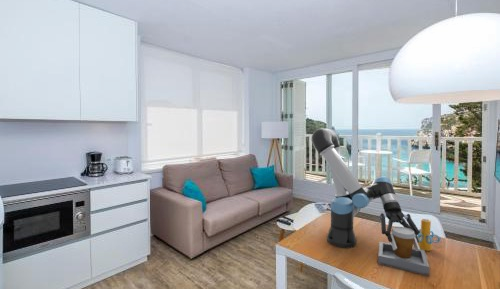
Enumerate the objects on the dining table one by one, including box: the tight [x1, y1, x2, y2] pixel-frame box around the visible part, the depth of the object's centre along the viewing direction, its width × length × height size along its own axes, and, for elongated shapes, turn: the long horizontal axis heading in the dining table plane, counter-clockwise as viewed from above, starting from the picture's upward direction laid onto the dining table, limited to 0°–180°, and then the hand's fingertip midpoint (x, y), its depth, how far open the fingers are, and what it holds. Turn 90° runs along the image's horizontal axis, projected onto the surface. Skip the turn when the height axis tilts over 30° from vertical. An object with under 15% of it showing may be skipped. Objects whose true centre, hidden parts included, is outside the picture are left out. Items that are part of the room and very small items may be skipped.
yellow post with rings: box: [417, 218, 441, 252], centre depth 125 cm, size 12×10×15 cm
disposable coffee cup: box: [391, 226, 416, 259], centre depth 113 cm, size 10×10×12 cm
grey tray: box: [377, 241, 430, 277], centre depth 114 cm, size 19×16×4 cm
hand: (406, 249), depth 110 cm, fingers closed on disposable coffee cup, 9 cm apart
